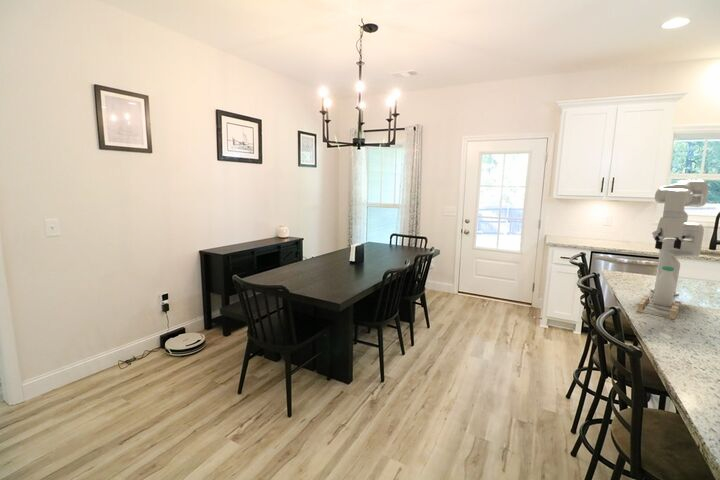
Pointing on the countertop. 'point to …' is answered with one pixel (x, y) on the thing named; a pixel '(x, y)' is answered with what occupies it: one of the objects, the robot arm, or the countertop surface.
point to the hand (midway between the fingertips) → (667, 248)
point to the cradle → (658, 308)
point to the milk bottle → (665, 287)
